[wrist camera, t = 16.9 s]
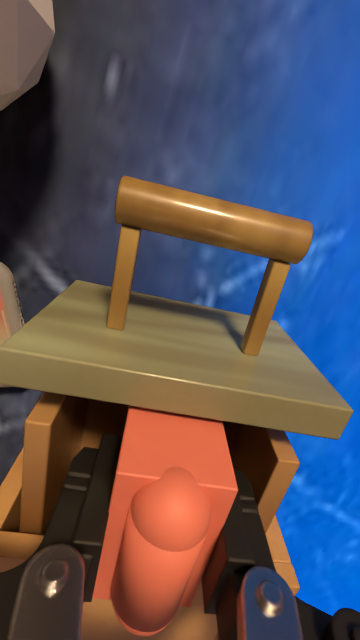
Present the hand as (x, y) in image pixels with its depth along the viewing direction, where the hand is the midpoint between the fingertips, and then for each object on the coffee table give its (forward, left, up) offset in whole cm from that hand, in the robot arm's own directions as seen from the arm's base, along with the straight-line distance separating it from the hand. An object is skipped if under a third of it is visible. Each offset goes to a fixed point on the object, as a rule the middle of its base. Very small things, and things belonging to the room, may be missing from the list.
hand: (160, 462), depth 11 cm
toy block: (0, 0, 0) cm, 0 cm away
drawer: (-1, 0, -7) cm, 7 cm away
